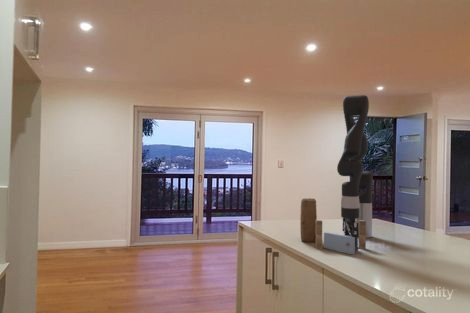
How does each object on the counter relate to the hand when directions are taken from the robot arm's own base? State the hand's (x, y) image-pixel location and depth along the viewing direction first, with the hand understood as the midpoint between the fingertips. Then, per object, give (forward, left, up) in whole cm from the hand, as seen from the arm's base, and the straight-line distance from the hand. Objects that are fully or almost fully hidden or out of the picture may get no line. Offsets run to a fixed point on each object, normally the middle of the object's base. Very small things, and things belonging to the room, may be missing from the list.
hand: (350, 244), depth 165 cm
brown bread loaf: (-21, -14, -3) cm, 25 cm away
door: (+3, -6, -2) cm, 7 cm away
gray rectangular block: (0, 0, -3) cm, 3 cm away
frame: (-4, -3, -2) cm, 5 cm away
